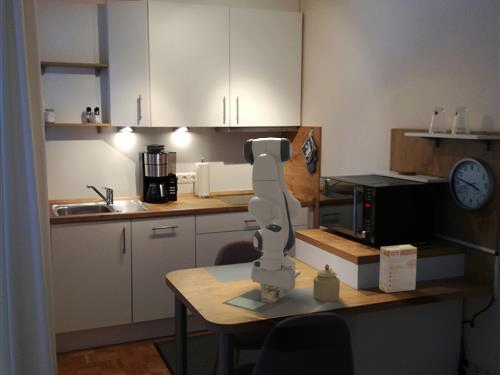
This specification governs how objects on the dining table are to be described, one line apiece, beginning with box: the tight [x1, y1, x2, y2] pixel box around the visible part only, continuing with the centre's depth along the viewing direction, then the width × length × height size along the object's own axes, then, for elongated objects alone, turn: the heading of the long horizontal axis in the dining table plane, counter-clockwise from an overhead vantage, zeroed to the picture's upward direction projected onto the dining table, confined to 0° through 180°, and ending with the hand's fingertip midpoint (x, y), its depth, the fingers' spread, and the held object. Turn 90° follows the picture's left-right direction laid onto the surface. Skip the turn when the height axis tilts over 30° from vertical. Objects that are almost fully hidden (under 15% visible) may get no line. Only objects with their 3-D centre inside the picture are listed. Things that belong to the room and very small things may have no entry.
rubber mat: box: [222, 288, 294, 314], centre depth 240 cm, size 24×20×1 cm
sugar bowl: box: [312, 264, 341, 303], centre depth 246 cm, size 15×11×15 cm
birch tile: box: [261, 286, 285, 303], centre depth 241 cm, size 10×5×4 cm, turn 144°
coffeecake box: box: [378, 244, 418, 294], centre depth 257 cm, size 15×7×20 cm, turn 108°
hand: (272, 295), depth 241 cm, fingers open, 6 cm apart
